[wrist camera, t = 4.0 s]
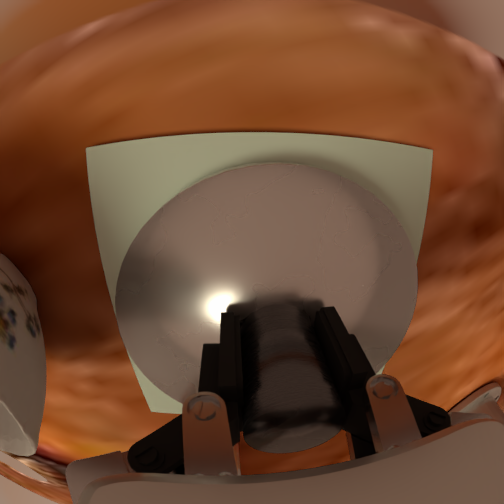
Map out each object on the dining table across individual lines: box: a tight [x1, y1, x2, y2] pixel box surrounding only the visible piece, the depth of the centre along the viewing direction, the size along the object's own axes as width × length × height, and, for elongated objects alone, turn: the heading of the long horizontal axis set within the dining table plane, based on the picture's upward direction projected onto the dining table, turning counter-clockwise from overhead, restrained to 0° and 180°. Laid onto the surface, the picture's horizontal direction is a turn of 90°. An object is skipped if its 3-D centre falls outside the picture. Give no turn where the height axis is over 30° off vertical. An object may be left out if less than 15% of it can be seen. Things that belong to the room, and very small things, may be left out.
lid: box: [115, 161, 418, 453], centre depth 10 cm, size 14×14×6 cm
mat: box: [86, 132, 433, 414], centre depth 13 cm, size 16×15×1 cm
